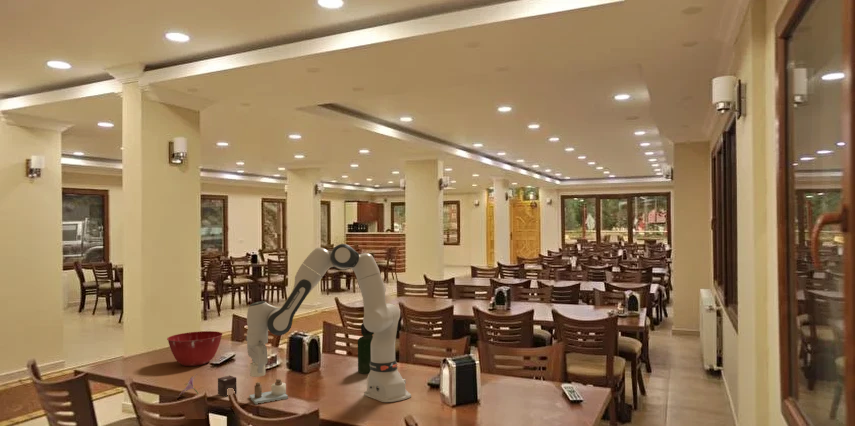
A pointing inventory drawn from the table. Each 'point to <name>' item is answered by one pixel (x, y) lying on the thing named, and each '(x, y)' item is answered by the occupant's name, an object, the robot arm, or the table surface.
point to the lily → (189, 385)
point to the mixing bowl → (195, 347)
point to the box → (226, 384)
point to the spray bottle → (364, 351)
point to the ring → (254, 370)
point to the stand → (269, 393)
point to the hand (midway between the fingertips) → (257, 370)
